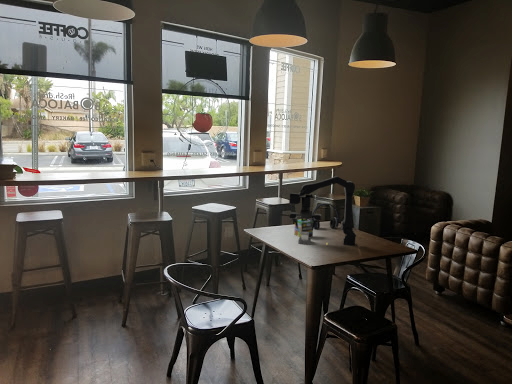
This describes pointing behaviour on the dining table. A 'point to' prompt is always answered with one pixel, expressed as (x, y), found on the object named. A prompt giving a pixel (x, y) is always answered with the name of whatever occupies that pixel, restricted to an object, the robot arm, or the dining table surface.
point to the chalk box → (304, 227)
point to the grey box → (304, 235)
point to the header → (304, 241)
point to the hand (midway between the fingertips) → (304, 229)
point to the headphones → (333, 222)
